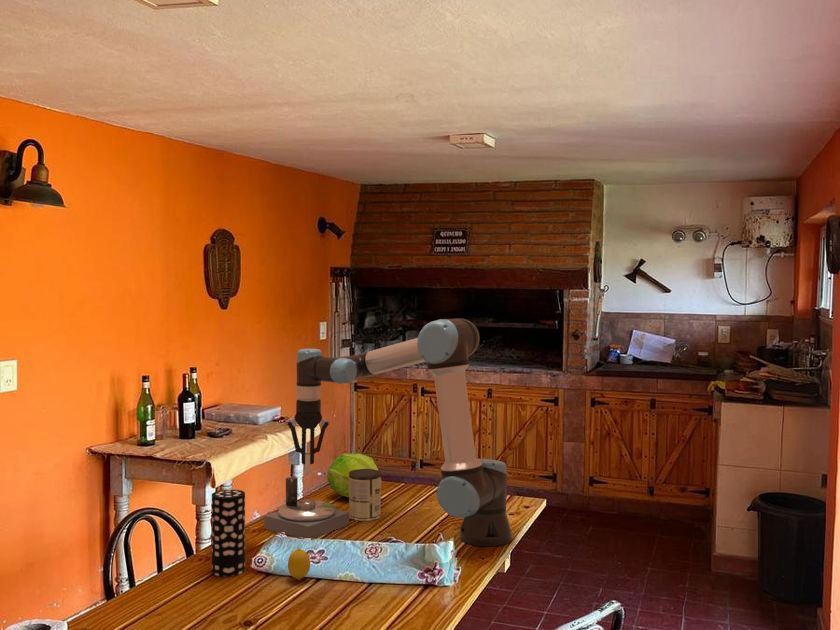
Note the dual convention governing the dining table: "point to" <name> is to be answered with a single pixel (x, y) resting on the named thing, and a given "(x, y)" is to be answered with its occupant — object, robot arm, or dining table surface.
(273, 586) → the dining table surface
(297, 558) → the lemon
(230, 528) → the spotted tube
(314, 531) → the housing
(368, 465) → the lettuce
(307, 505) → the peg on round base
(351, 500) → the coffee can
